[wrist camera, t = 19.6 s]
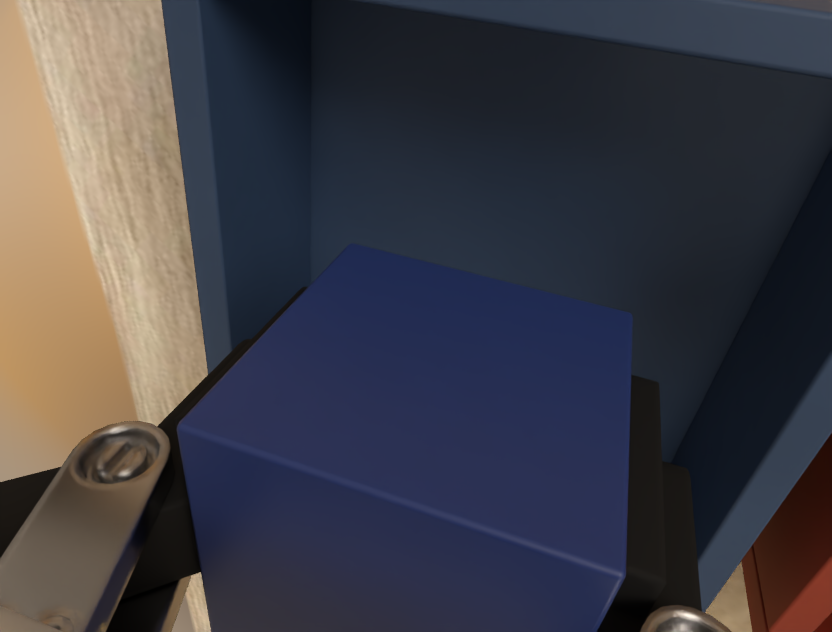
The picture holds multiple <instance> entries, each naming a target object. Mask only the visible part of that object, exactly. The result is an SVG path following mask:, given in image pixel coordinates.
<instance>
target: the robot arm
mask: <svg viewBox="0 0 832 632" xmlns="http://www.w3.org/2000/svg"><path fill="white" fill-rule="evenodd" d="M307 288H308V287H302V288H301V289H300V290H299V291H298V292H297V293H296V294H295V295H294V296H293V297H292V298H291V299H290V300H289V301H288V302H287V303H286V304H285V305H284V306H283V307H282V308H281V309H280V310H279V311H278V312H277V313H276V314H275V316H274V317H273V318H272V319H271V320H270V321H269V322H268V323H267V324H266V325H265V326H264V327H263V328H262V329H261V330H260V331H259V332H258V333H257V334H256V335H255V336H254V337H253V338H252V339H246V340H243V341H242V342H241V343H240V344H238V345H237V346H236V347H235V348H234V349H233V350H232V351H231V352H230V353H229V354H228V355H227V356H226V357H225V358H224V359H223V360H222V361H221V363H220V364H219V365H218V366H217V367H216V368H215V369H214V370H213V371H212V372H211V373H210V374H209V375H208V376H207V377H206V378H205V379H204V380H203V381H202V382H201V383H200V384H199V385H198V386H197V387H196V388H195V389H194V390H193V391H192V392H191V393H190V394H189V395H188V396H187V397H186V398H185V399H184V400H183V401H182V402H181V403H180V404H179V405H178V406H177V407H176V408H175V409H174V410H173V411H172V412H171V413H170V414H169V415H168V416H167V417H166V418H165V419H164V420H163V421H162V422H161V423H160V424H159V425H158V426H155V425H153V424H150V423H145V422H141V421H124V422H120V423H116V424H111V425H108V426H105V427H103V428H101V429H98V430H96V431H94V432H93V433H91V434H90V435H88V436H87V437H85V438H84V439H82V440H81V441H80V443H79V444H78V445H77V446H76V447H75V448H74V449H73V450H72V452H71V453H70V455H69V456H68V458H67V459H66V461H65V462H64V464H63V465H62V467H58V468H55V469H51V470H47V471H43V472H39V473H35V474H31V475H27V476H23V477H19V478H15V479H11V480H7V481H4V482H0V632H171V631H172V628H173V626H174V623H175V620H176V617H177V615H178V612H179V609H180V606H181V604H182V601H183V598H184V595H185V593H186V590H187V587H188V584H189V582H190V579H191V575H193V574H196V573H199V572H201V569H200V563H199V557H198V551H197V546H196V540H195V534H194V528H193V522H192V517H191V511H190V505H189V499H188V493H187V487H186V482H185V476H184V470H183V464H182V458H181V453H180V447H179V441H178V435H177V426H178V424H179V422H180V421H181V420H182V419H183V418H184V417H185V416H186V415H187V414H188V413H189V411H190V410H191V409H192V408H193V407H194V406H195V405H196V404H197V403H198V402H199V401H200V400H201V399H202V398H203V397H204V396H205V395H206V394H207V393H208V392H209V390H210V389H211V388H212V387H213V386H214V385H215V384H216V383H217V382H218V381H219V380H220V379H221V378H222V377H223V376H224V375H225V374H226V373H227V372H228V371H229V369H230V368H231V367H232V366H233V365H234V364H235V363H236V362H237V361H238V360H239V359H240V358H241V357H242V356H243V355H244V354H245V353H246V352H247V351H248V349H249V348H250V347H251V346H252V345H253V344H254V343H255V342H256V341H257V340H258V339H259V338H260V337H261V336H262V335H263V334H264V333H265V332H266V331H267V330H268V328H269V327H270V326H271V325H272V324H273V323H274V322H275V321H276V320H277V319H278V318H279V317H280V316H281V315H282V314H283V313H284V312H285V311H286V310H287V309H288V307H289V306H290V305H291V304H292V303H293V302H294V301H295V300H296V299H297V298H298V297H299V296H300V295H301V294H302V293H303V292H304V291H305V290H306V289H307ZM597 632H731V631H730V630H729V629H728V628H727V627H726V626H724V625H723V624H722V623H720V622H719V621H718V620H716V619H715V618H713V617H712V616H711V615H708V614H706V613H704V612H702V606H701V594H700V583H699V571H698V559H697V548H696V536H695V525H694V513H693V501H692V490H691V479H690V474H689V471H688V470H687V468H685V467H681V466H678V465H674V464H671V463H668V462H664V461H662V445H661V416H660V388H659V383H658V382H657V381H653V380H649V379H646V378H642V377H638V376H634V375H631V403H630V441H629V479H628V517H627V555H626V577H625V579H624V581H623V583H622V585H621V587H620V588H619V590H618V592H617V594H616V596H615V598H614V600H613V602H612V604H611V605H610V607H609V609H608V611H607V613H606V615H605V617H604V619H603V621H602V622H601V624H600V626H599V628H598V630H597Z"/></svg>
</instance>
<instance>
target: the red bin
mask: <svg viewBox="0 0 832 632" xmlns="http://www.w3.org/2000/svg"><path fill="white" fill-rule="evenodd" d="M741 561H742V567H743V574H744V580H745V587H746V593H747V600H748V606H749V612H750V619H751V625H752V632H832V433H831V435H830V436H829V437H828V439H827V440H826V442H825V443H824V444H823V446H822V447H821V449H820V450H819V451H818V453H817V454H816V456H815V457H814V459H813V460H812V461H811V463H810V464H809V466H808V467H807V468H806V470H805V471H804V473H803V474H802V475H801V477H800V478H799V480H798V481H797V483H796V484H795V485H794V487H793V488H792V490H791V491H790V492H789V494H788V495H787V497H786V498H785V500H784V501H783V502H782V504H781V505H780V507H779V508H778V509H777V511H776V512H775V514H774V515H773V516H772V518H771V519H770V521H769V522H768V524H767V525H766V526H765V528H764V529H763V531H762V532H761V533H760V535H759V536H758V538H757V539H756V540H755V542H754V543H753V545H752V546H751V548H750V549H749V550H748V552H747V553H746V555H745V556H744V557H743V559H742V560H741Z"/></svg>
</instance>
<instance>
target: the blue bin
mask: <svg viewBox="0 0 832 632" xmlns="http://www.w3.org/2000/svg"><path fill="white" fill-rule="evenodd" d="M161 2H162V10H163V18H164V26H165V34H166V41H167V49H168V57H169V65H170V73H171V81H172V89H173V97H174V105H175V113H176V121H177V129H178V137H179V145H180V153H181V161H182V169H183V177H184V185H185V193H186V201H187V209H188V217H189V225H190V233H191V241H192V249H193V257H194V265H195V273H196V281H197V289H198V297H199V305H200V313H201V320H202V328H203V336H204V344H205V352H206V360H207V368H208V375H209V374H210V373H211V372H212V371H213V370H214V369H215V368H216V367H217V366H218V365H219V364H220V363H221V361H222V360H223V359H224V358H225V357H226V356H227V355H228V354H229V353H230V352H231V351H232V350H233V349H234V348H235V347H236V346H237V345H238V344H240V343H241V342H242V341H243V340H246V339H252V338H253V337H254V336H255V335H256V334H257V333H258V332H259V331H260V330H261V329H262V328H263V327H264V326H265V325H266V324H267V323H268V322H269V321H270V320H271V319H272V318H273V317H274V316H275V314H276V313H277V312H278V311H279V310H280V309H281V308H282V307H283V306H284V305H285V304H286V303H287V302H288V301H289V300H290V299H291V298H292V297H293V296H294V295H295V294H296V293H297V292H298V291H299V290H300V289H301V288H302V287H308V286H309V285H310V284H311V283H312V282H313V281H314V280H315V279H316V278H317V277H318V276H319V275H320V274H321V273H322V272H323V271H324V270H325V269H326V268H327V267H328V265H329V264H330V263H331V262H332V261H333V260H334V259H335V258H336V257H337V256H338V255H339V254H340V253H341V252H342V251H343V250H344V249H345V248H346V247H347V246H348V244H351V243H354V244H358V245H362V246H366V247H370V248H374V249H378V250H382V251H386V252H390V253H394V254H398V255H402V256H406V257H410V258H414V259H418V260H422V261H426V262H430V263H434V264H438V265H442V266H446V267H450V268H454V269H458V270H462V271H466V272H470V273H474V274H478V275H482V276H486V277H489V278H493V279H497V280H501V281H505V282H509V283H513V284H517V285H521V286H525V287H529V288H533V289H537V290H541V291H545V292H549V293H553V294H557V295H561V296H565V297H569V298H573V299H577V300H581V301H585V302H589V303H593V304H597V305H601V306H605V307H609V308H613V309H617V310H621V311H625V312H629V313H631V314H632V317H633V327H632V365H631V375H634V376H638V377H642V378H646V379H649V380H653V381H657V382H658V383H659V388H660V416H661V445H662V461H664V462H668V463H671V464H674V465H678V466H681V467H685V468H687V470H688V471H689V474H690V479H691V490H692V501H693V513H694V525H695V536H696V548H697V559H698V571H699V583H700V594H701V606H702V612H704V613H705V612H706V609H707V608H708V607H709V605H710V604H711V603H712V601H713V600H714V598H715V597H716V596H717V594H718V593H719V591H720V590H721V589H722V587H723V586H724V584H725V583H726V581H727V580H728V579H729V577H730V576H731V574H732V573H733V572H734V570H735V569H736V567H737V566H738V565H739V563H740V562H741V560H742V559H743V557H744V556H745V555H746V553H747V552H748V550H749V549H750V548H751V546H752V545H753V543H754V542H755V540H756V539H757V538H758V536H759V535H760V533H761V532H762V531H763V529H764V528H765V526H766V525H767V524H768V522H769V521H770V519H771V518H772V516H773V515H774V514H775V512H776V511H777V509H778V508H779V507H780V505H781V504H782V502H783V501H784V500H785V498H786V497H787V495H788V494H789V492H790V491H791V490H792V488H793V487H794V485H795V484H796V483H797V481H798V480H799V478H800V477H801V475H802V474H803V473H804V471H805V470H806V468H807V467H808V466H809V464H810V463H811V461H812V460H813V459H814V457H815V456H816V454H817V453H818V451H819V450H820V449H821V447H822V446H823V444H824V443H825V442H826V440H827V439H828V437H829V436H830V435H831V433H832V0H161Z"/></svg>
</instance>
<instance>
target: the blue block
mask: <svg viewBox="0 0 832 632" xmlns="http://www.w3.org/2000/svg"><path fill="white" fill-rule="evenodd" d="M632 327H633V317H632V314H631V313H629V312H625V311H621V310H617V309H613V308H609V307H605V306H601V305H597V304H593V303H589V302H585V301H581V300H577V299H573V298H569V297H565V296H561V295H557V294H553V293H549V292H545V291H541V290H537V289H533V288H529V287H525V286H521V285H517V284H513V283H509V282H505V281H501V280H497V279H493V278H489V277H486V276H482V275H478V274H474V273H470V272H466V271H462V270H458V269H454V268H450V267H446V266H442V265H438V264H434V263H430V262H426V261H422V260H418V259H414V258H410V257H406V256H402V255H398V254H394V253H390V252H386V251H382V250H378V249H374V248H370V247H366V246H362V245H358V244H354V243H351V244H348V246H347V247H346V248H345V249H344V250H343V251H342V252H341V253H340V254H339V255H338V256H337V257H336V258H335V259H334V260H333V261H332V262H331V263H330V264H329V265H328V267H327V268H326V269H325V270H324V271H323V272H322V273H321V274H320V275H319V276H318V277H317V278H316V279H315V280H314V281H313V282H312V283H311V284H310V285H309V286H308V288H307V289H306V290H305V291H304V292H303V293H302V294H301V295H300V296H299V297H298V298H297V299H296V300H295V301H294V302H293V303H292V304H291V305H290V306H289V307H288V309H287V310H286V311H285V312H284V313H283V314H282V315H281V316H280V317H279V318H278V319H277V320H276V321H275V322H274V323H273V324H272V325H271V326H270V327H269V328H268V330H267V331H266V332H265V333H264V334H263V335H262V336H261V337H260V338H259V339H258V340H257V341H256V342H255V343H254V344H253V345H252V346H251V347H250V348H249V349H248V351H247V352H246V353H245V354H244V355H243V356H242V357H241V358H240V359H239V360H238V361H237V362H236V363H235V364H234V365H233V366H232V367H231V368H230V369H229V371H228V372H227V373H226V374H225V375H224V376H223V377H222V378H221V379H220V380H219V381H218V382H217V383H216V384H215V385H214V386H213V387H212V388H211V389H210V390H209V392H208V393H207V394H206V395H205V396H204V397H203V398H202V399H201V400H200V401H199V402H198V403H197V404H196V405H195V406H194V407H193V408H192V409H191V410H190V411H189V413H188V414H187V415H186V416H185V417H184V418H183V419H182V420H181V421H180V422H179V424H178V426H177V435H178V441H179V447H180V453H181V458H182V464H183V470H184V476H185V482H186V487H187V493H188V499H189V505H190V511H191V517H192V522H193V528H194V534H195V540H196V546H197V551H198V557H199V563H200V569H201V575H202V580H203V586H204V592H205V598H206V604H207V609H208V615H209V621H210V627H211V632H597V630H598V628H599V626H600V624H601V622H602V621H603V619H604V617H605V615H606V613H607V611H608V609H609V607H610V605H611V604H612V602H613V600H614V598H615V596H616V594H617V592H618V590H619V588H620V587H621V585H622V583H623V581H624V579H625V577H626V555H627V517H628V479H629V441H630V403H631V365H632Z"/></svg>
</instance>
